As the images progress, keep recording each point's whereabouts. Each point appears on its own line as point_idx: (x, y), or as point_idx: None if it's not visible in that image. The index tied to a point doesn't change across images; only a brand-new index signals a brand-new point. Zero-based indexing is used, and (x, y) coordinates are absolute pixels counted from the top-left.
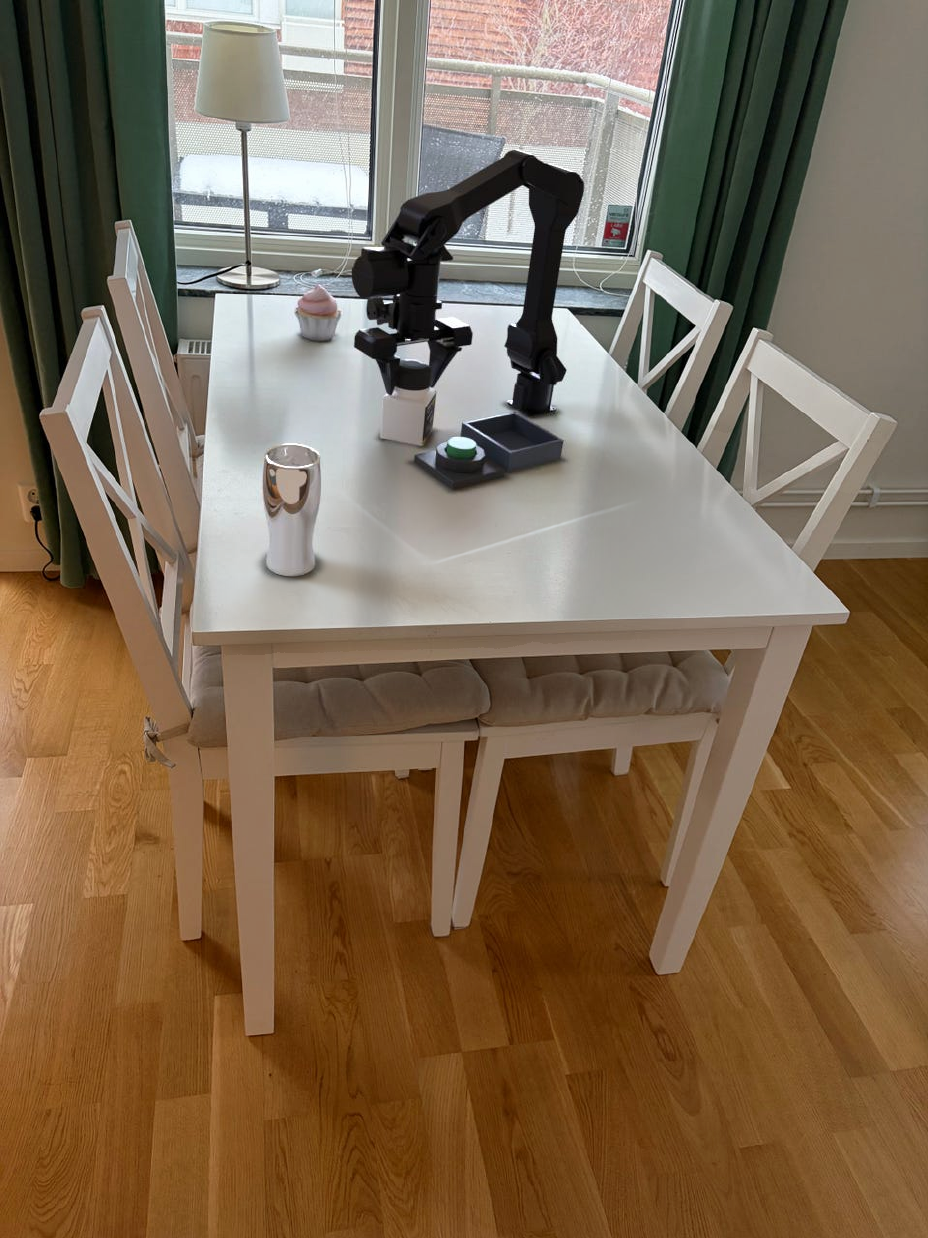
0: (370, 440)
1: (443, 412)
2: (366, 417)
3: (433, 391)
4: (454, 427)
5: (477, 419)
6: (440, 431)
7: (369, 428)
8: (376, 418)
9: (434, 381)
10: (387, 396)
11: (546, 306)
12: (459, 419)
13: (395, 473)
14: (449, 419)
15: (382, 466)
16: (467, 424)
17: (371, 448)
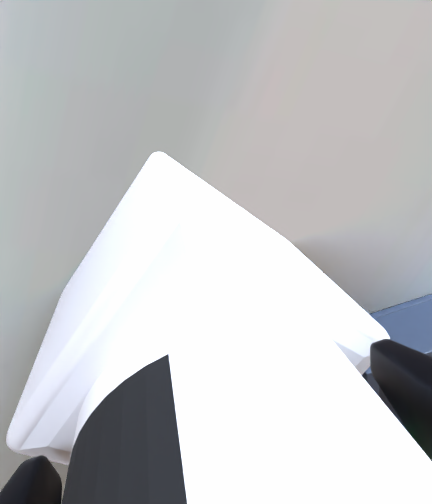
0: (19, 300)
1: (416, 83)
2: (41, 61)
3: (361, 373)
4: (372, 227)
5: (429, 354)
6: (310, 252)
7: (34, 193)
8: (94, 86)
9: (407, 425)
10: (35, 451)
11: None
12: (428, 164)
13: (62, 485)
14: (396, 158)
15: (29, 457)
16: (373, 386)
17: (12, 357)
